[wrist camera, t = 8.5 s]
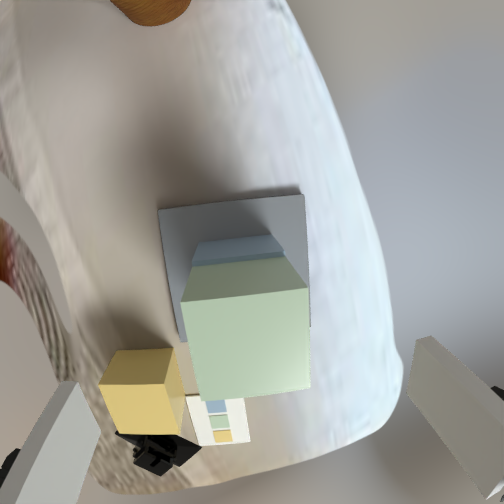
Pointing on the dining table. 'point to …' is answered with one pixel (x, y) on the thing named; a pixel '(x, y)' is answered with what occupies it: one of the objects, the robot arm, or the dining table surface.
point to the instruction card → (219, 420)
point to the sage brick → (247, 328)
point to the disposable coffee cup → (152, 10)
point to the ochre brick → (144, 391)
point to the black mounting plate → (160, 451)
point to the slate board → (231, 235)
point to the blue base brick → (237, 250)
